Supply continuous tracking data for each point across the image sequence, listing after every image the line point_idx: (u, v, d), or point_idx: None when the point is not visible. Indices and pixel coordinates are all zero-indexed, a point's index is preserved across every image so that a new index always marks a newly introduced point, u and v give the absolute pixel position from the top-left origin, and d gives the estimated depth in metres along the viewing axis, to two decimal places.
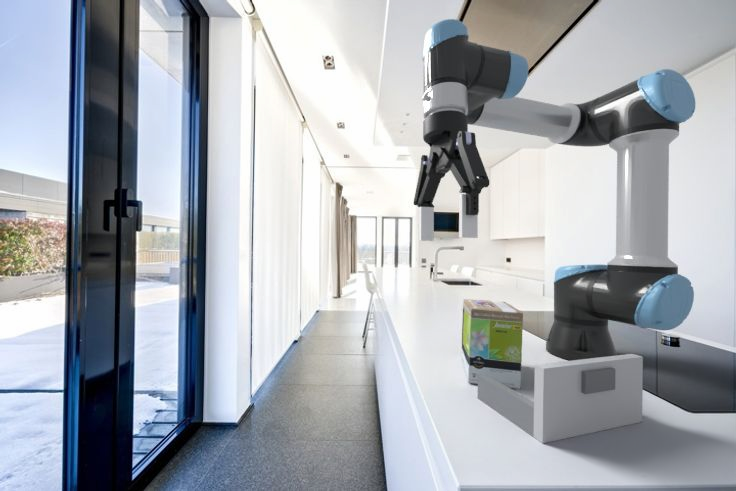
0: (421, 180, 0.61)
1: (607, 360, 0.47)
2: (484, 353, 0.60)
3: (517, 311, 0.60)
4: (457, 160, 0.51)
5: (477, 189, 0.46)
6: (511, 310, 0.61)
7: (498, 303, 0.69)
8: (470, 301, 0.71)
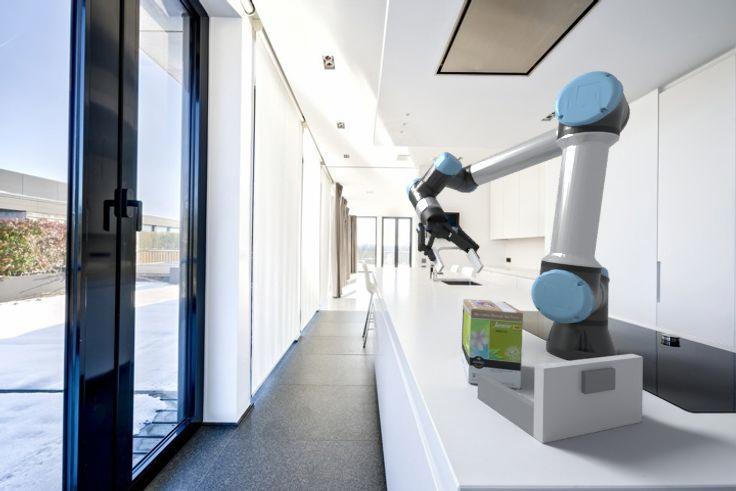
0: None
1: (607, 360, 0.47)
2: (484, 353, 0.60)
3: (517, 311, 0.60)
4: (431, 234, 0.88)
5: (424, 249, 0.83)
6: (511, 310, 0.61)
7: (498, 303, 0.69)
8: (470, 301, 0.71)
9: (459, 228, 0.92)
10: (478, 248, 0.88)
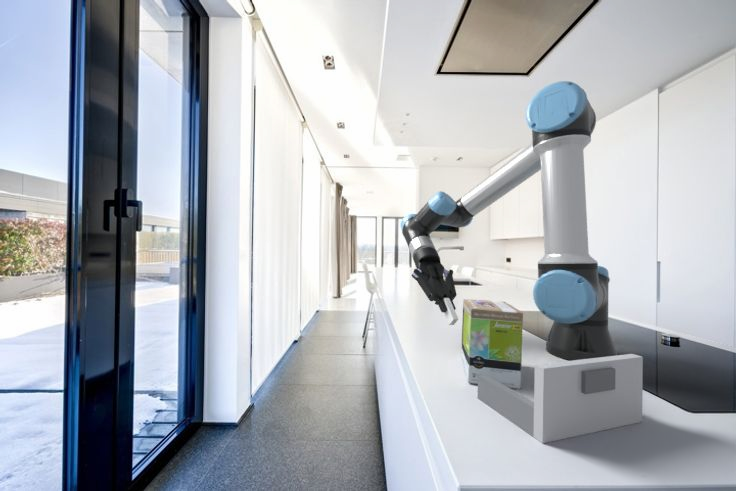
0: None
1: (607, 360, 0.47)
2: (484, 353, 0.60)
3: (517, 311, 0.60)
4: (429, 279, 0.88)
5: (435, 299, 0.84)
6: (511, 310, 0.61)
7: (498, 303, 0.69)
8: (470, 301, 0.71)
9: (450, 273, 0.91)
10: (454, 296, 0.85)
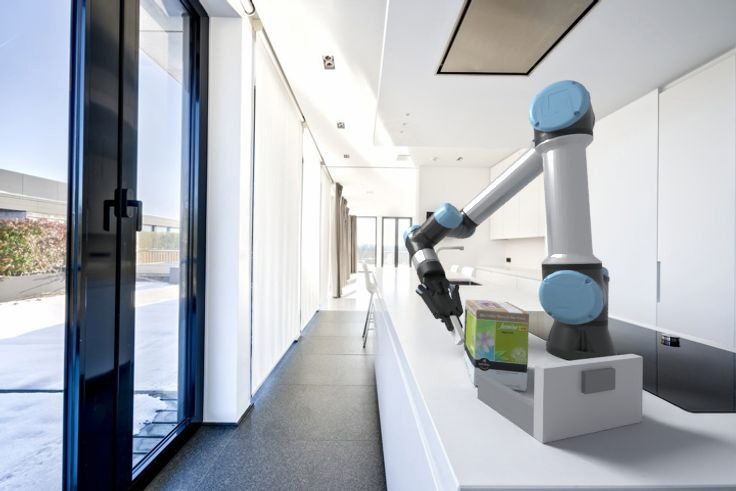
0: None
1: (607, 360, 0.47)
2: (489, 355, 0.59)
3: (523, 312, 0.59)
4: (434, 295, 0.84)
5: (441, 317, 0.79)
6: (517, 311, 0.60)
7: (502, 303, 0.68)
8: (473, 302, 0.70)
9: (456, 288, 0.86)
10: (461, 313, 0.81)
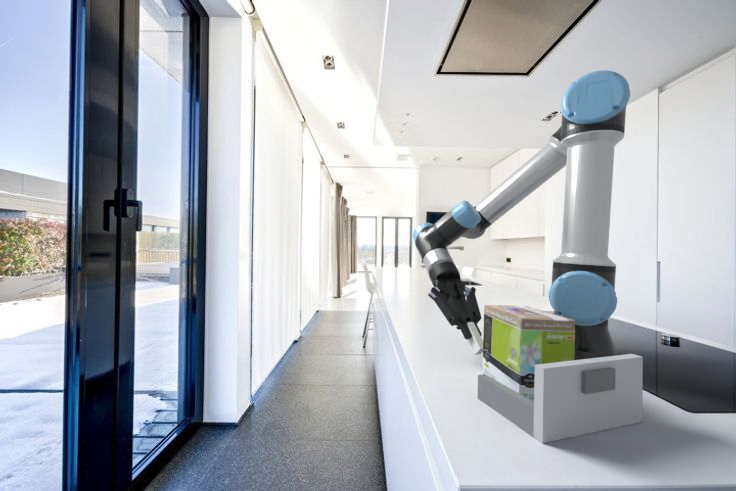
0: None
1: (607, 360, 0.47)
2: None
3: (567, 319, 0.54)
4: (449, 299, 0.77)
5: (457, 324, 0.72)
6: (561, 318, 0.54)
7: (530, 309, 0.62)
8: (499, 308, 0.63)
9: (472, 291, 0.79)
10: (478, 320, 0.73)
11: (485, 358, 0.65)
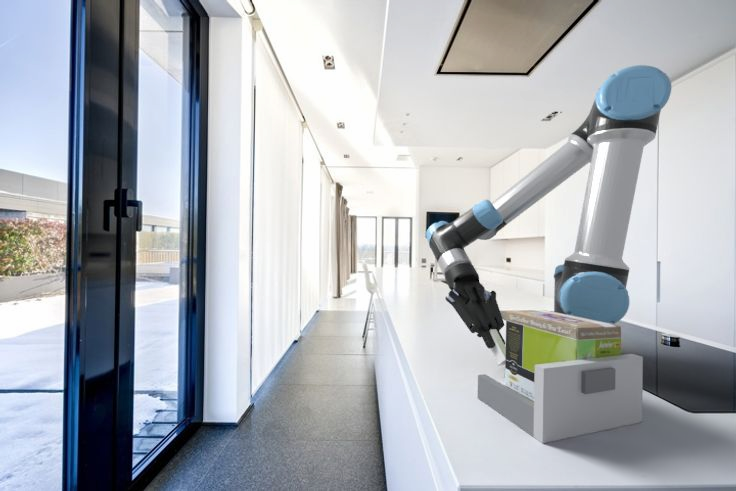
0: None
1: (607, 360, 0.47)
2: None
3: (613, 324, 0.50)
4: (468, 304, 0.71)
5: (479, 331, 0.66)
6: (606, 324, 0.50)
7: (558, 314, 0.58)
8: (529, 314, 0.57)
9: (493, 295, 0.73)
10: (501, 326, 0.67)
11: (510, 370, 0.59)
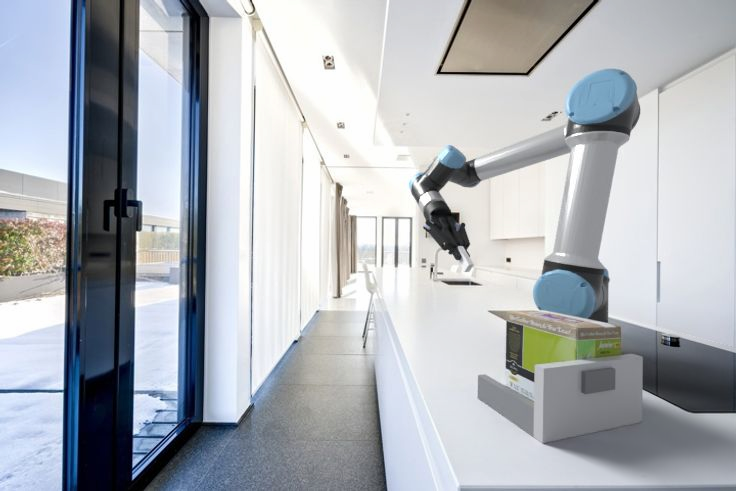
0: None
1: (607, 360, 0.47)
2: None
3: (613, 325, 0.50)
4: (441, 231, 0.87)
5: (449, 248, 0.82)
6: (606, 324, 0.50)
7: (559, 314, 0.58)
8: (529, 314, 0.57)
9: (462, 225, 0.89)
10: (467, 245, 0.83)
11: (511, 370, 0.59)
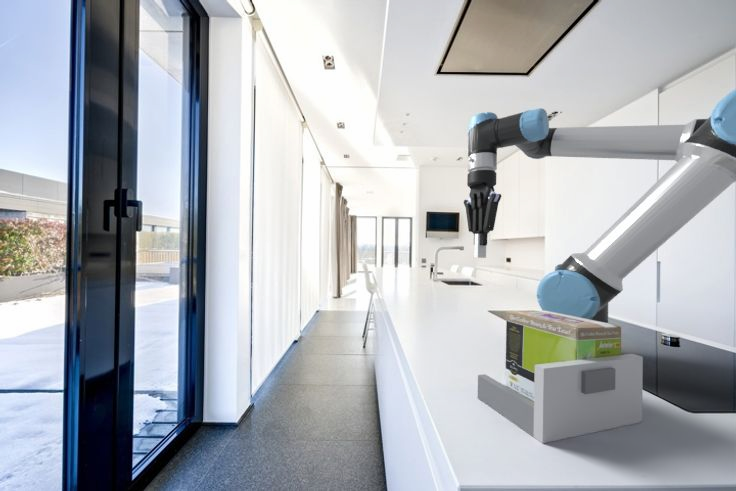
0: (469, 213, 0.89)
1: (607, 360, 0.47)
2: None
3: (613, 325, 0.50)
4: (485, 206, 0.84)
5: (486, 231, 0.84)
6: (606, 324, 0.50)
7: (559, 314, 0.58)
8: (529, 314, 0.57)
9: None
10: None
11: (511, 370, 0.59)
